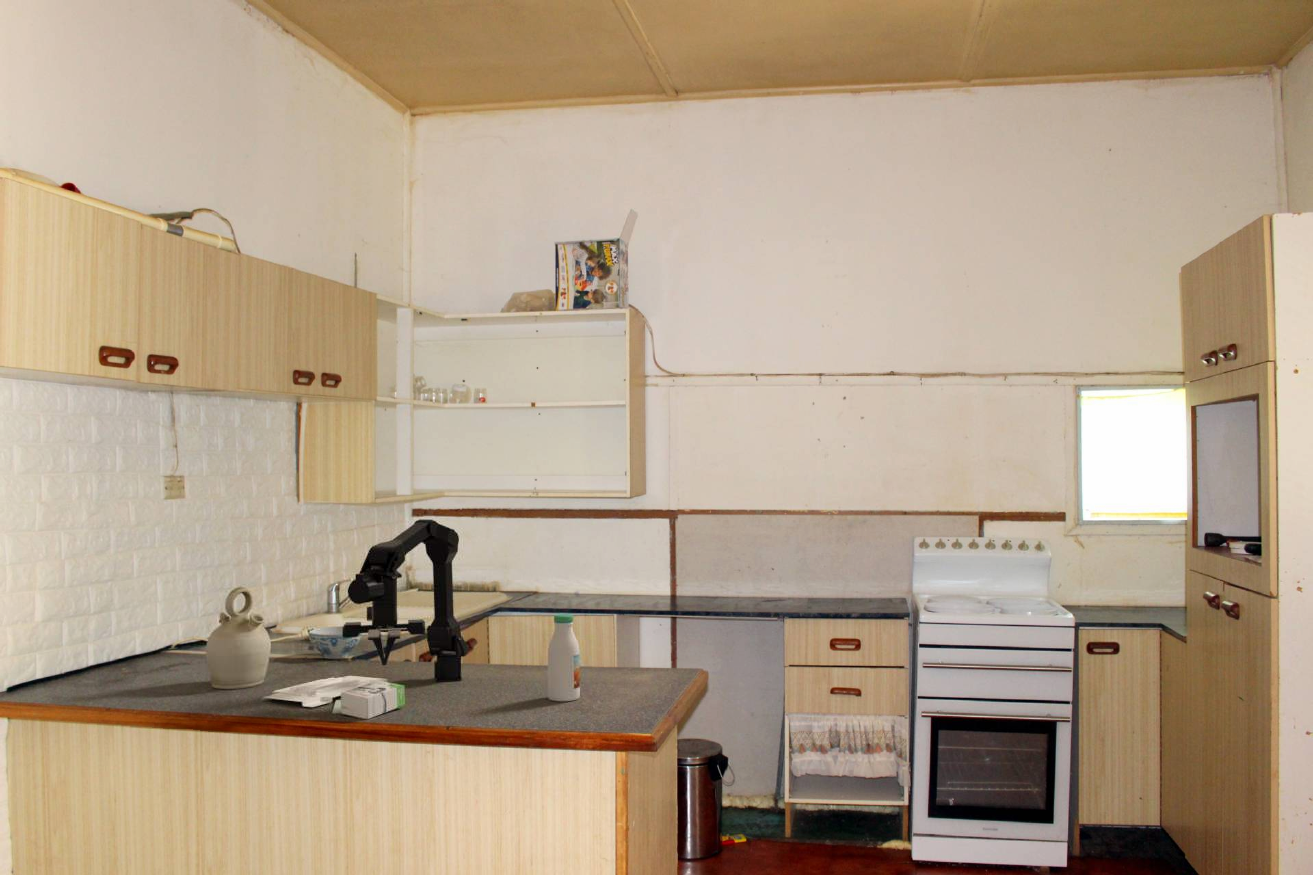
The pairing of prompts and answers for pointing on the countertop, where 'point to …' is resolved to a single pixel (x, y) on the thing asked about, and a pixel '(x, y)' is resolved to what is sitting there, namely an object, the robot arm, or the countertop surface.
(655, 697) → the countertop surface
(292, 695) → the tray
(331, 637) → the chinaware
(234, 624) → the jug
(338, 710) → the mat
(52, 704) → the countertop surface
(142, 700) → the countertop surface
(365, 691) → the ink box
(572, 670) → the milk bottle
